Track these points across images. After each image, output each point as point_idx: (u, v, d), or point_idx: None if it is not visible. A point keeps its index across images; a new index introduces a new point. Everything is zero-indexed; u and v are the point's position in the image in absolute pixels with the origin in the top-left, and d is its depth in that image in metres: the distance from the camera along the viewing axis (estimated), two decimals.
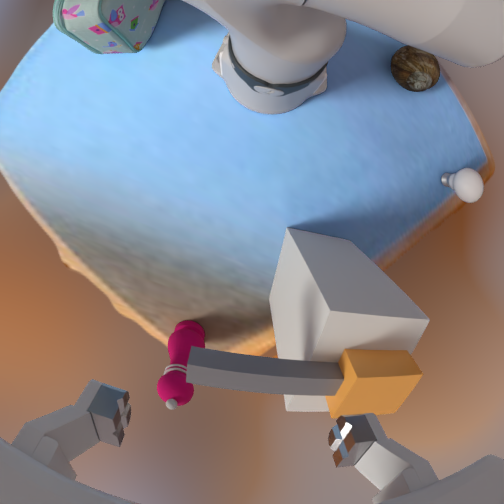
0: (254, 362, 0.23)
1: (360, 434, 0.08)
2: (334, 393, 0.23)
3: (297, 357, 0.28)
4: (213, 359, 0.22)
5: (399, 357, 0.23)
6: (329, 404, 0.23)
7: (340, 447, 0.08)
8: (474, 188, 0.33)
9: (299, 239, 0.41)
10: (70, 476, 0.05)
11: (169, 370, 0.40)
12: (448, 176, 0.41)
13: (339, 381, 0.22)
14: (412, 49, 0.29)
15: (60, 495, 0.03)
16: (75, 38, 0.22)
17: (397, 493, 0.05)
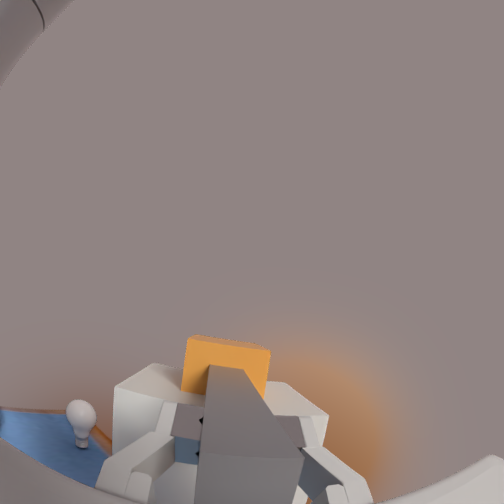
0: None
1: None
2: (238, 368, 0.18)
3: None
4: None
5: None
6: (262, 371, 0.18)
7: None
8: (80, 404, 0.36)
9: None
10: None
11: None
12: (76, 437, 0.34)
13: (214, 365, 0.18)
14: None
15: (60, 495, 0.03)
16: None
17: None
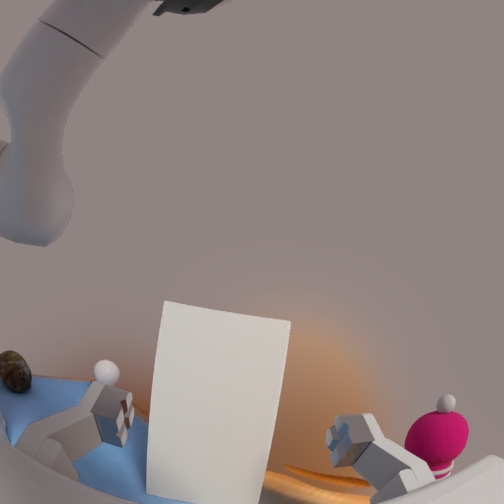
0: None
1: (357, 434, 0.08)
2: None
3: (233, 341, 0.28)
4: None
5: None
6: None
7: (337, 447, 0.08)
8: (107, 362, 0.50)
9: None
10: (73, 477, 0.05)
11: None
12: None
13: None
14: (1, 355, 0.33)
15: (60, 495, 0.03)
16: None
17: (394, 494, 0.05)
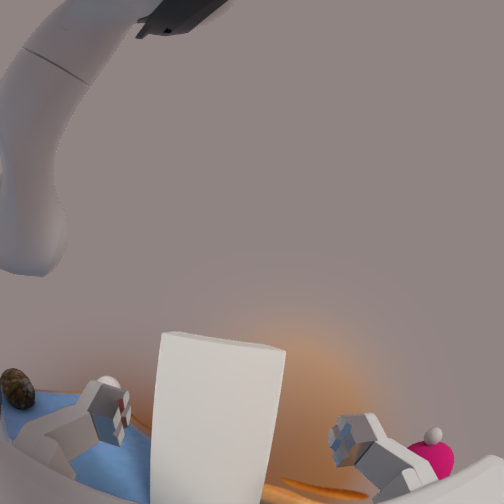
0: None
1: (360, 434, 0.08)
2: None
3: (230, 371, 0.28)
4: None
5: None
6: None
7: (340, 447, 0.08)
8: (108, 379, 0.50)
9: None
10: (70, 476, 0.05)
11: None
12: None
13: None
14: (4, 374, 0.33)
15: (60, 495, 0.03)
16: None
17: (397, 493, 0.05)
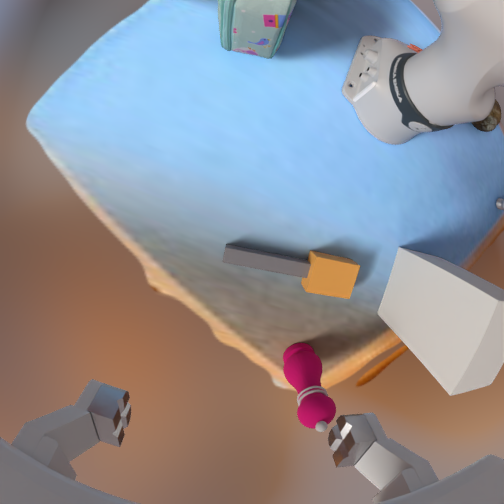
0: (260, 252, 0.45)
1: (360, 434, 0.08)
2: (306, 275, 0.44)
3: (459, 347, 0.26)
4: (238, 248, 0.44)
5: (344, 259, 0.45)
6: (304, 286, 0.45)
7: (340, 447, 0.08)
8: None
9: (420, 256, 0.41)
10: (70, 476, 0.05)
11: (308, 393, 0.38)
12: (502, 201, 0.42)
13: (308, 265, 0.44)
14: None
15: (60, 495, 0.03)
16: (229, 21, 0.25)
17: (397, 493, 0.05)
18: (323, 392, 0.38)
